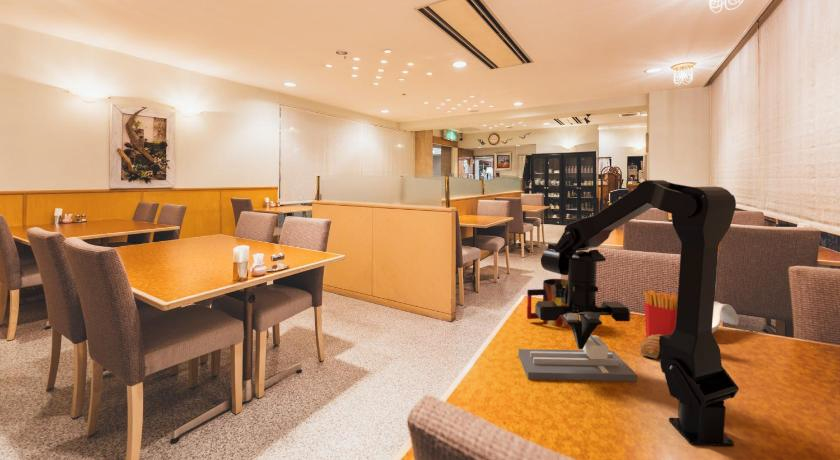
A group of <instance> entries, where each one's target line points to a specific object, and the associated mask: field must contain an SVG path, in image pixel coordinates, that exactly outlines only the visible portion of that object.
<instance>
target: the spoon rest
mask: <svg viewBox="0 0 840 460" xmlns="http://www.w3.org/2000/svg"><path fill="white" fill-rule="evenodd" d="M738 317H739V316H738V314H737V312H736V310H735V309H734V307H733V306H732V305H730V304H728V303H721V302H719V301H715V300H714V308H713V321H712V334H713V333H715V332H716V331H717V330H718V329H719V326H721V322H722V323H726V324H730V325H733V326H738V325H739V318H738Z"/></svg>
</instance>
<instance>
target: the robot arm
mask: <svg viewBox="0 0 840 460" xmlns="http://www.w3.org/2000/svg"><path fill="white" fill-rule="evenodd" d="M652 208H656V209H657V210H660V211H663V212H666V213H669V214H670V215H671V222H672V223H671V225H672V228H673V229H674V231H675V233H676V235H677V237H678V239H679V241H680V254H679V255H680V256H679V269H678V270H679V272H678V284H677V296H678V297H677V311H676V325H675V329H674V331H673V332H672V334H667V335H663V336H660V339H659V347H660V351H659V355H658V357H657V359H656V360H659V361H660V369H661V372H662V374H664V377H665V380H666V384H667V388H668V392H669V395H670V396H671V397H673V398H675V399H677V401H678V409H677V410H678V412H677V416H678V417H668V422H669V423H670V424H671V425H672V426H673V427H674V428H675V430H676V431H678V433H679V434H680V435H681V436H682V437H683V438H684V440H686V441H687V442H688V443H689V444H691V445H697V446H699V445H702V446H730V447H731V446H733V447H734V444H735V442H734V441H733V440H732V439H731V438H730V437H729V436H728V435H727V434H726V433H725V423H726V406H725V401H726V400H728V399H734V398H735V396H736V395H737V393H738V391H739V390H740V388H739V386H738V385H737V383H736V382H735V381H734V379H733V378H732V377H731V376H730V374H729V373H728V372H727V370H726V369H725V368H724V367H723V364H722V356H721V355H722V353H721V347H720V346H719V344H718V343H717V341H716V339H715V336H714V335H713V333H712V321H713V308H714V301H715V295H716V294H715V293H716V281H717V268H718V258H719V257H718V256H719V248H720V243H721V242H722V240H723V238H724V237H725V235H726V233H727V232H728V230H729V229H730V228H731V224H732V221H733V218H734V214H735V210H736V208H737V202H736V197H735V195H734V194H732V193H731V192H730V190H728V189H726V188H724V187H721V186H689V185H684V184H679V183H678V184H677V183H673V182H669V181H667V180H664V179H655V180H654V179H651V180H650V179H647V180H644V181H642V182H639V184H637V185H636V187H634V188H633V189H631V190H630V191H629V192H626V194H624V195H622V196H620V197H619V198H618V199H616V200H615V201H613V202H612V203H610V204H609V205H607V206H606V207H604V208H602V209H601V210H599V211H598V212H597V213H595V214H592V215H590V216H588V217H584V218H579V219H577V220H575V221H572V222H570V223H568V224H567V225H566V226H565V227H564V231H563V233H562V235H561V236H560V238H559V239H558V241H557V243H555V242H551V243H548V244H547V248H546V249H545V250H544V251H543V253H542V255H541V257H540V264H541V267H542V268H543V270H545V271H548V272H551V273H555V274H559V275H563V276H567V280H568V281H567V283H566V288H563V285H562V284H554V285H553V297H554V298H561V302H564V303H565V304H567V306H557V305H556V304H555V303H554V301H543V300H538V301H537V302H536V303H535V307H534V308H535V309H534V310H535V311H534V313H536V314H537V315H538V317H539V318H540V319H539V320H540V321H543V320H548V321H556V320H557V319H558V318H559V317H560V315H561V317H562V318H563V319H564V320H565V321H566V323H567V324H570V328H571V331H572V334H573V337H574V341H575V344H576V346H577V349H578V350H583V348H584V346H585V344H586V342H587V340H588V339H589V337H590V335H592V334H593V332H594V331H595V330H596V328H597V327H598V326H600V325H603V321H601V319H600V318H601V316H611V318H612V319H613V320H614V321H615V322H630V321H631V310H630V309H629V308H628V307H627V306H626V305H624V304H623V303H621V302H620V301H602V303H601V305H597V304H596V302H597V301H596V300H597V293H598V292H599V287H598V285H597V263H600V262H605V261H606V260H607V259H606V257H605V256H604V254H602V253H600V251H599V249H594V248H598V247H600V246H601V245H603V243H604V242H606V241H607V240H608V239H609V238H610V236H611V233H613V231H614V230H616V229H618V228H620V227H622V226H623V225H625V224H627V223H628V222H630V221H632V220H634V219H635V218H637V217H638V216H640V215H642V214H644V213H646V212H647V211H649V210H651V209H652ZM589 249H590V250H589ZM588 250H589V251H588ZM572 310H574V311H572Z"/></svg>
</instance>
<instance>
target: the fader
mask: <svg viewBox="0 0 840 460" xmlns="http://www.w3.org/2000/svg"><path fill="white" fill-rule="evenodd" d="M608 348H609V345H608V344H606V343H605V342H604V341H603V339H602V338H600V337H599V336H598V335H592V334H591V335H590V337H589V339H588V340H587V342H586V344H585V346H584V348H583V349H582V350H583V351H584V352H585V353H586V354H587V355H588V357H589V358H590V359H607V358H608V351H609V349H608Z"/></svg>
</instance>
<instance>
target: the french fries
mask: <svg viewBox="0 0 840 460" xmlns="http://www.w3.org/2000/svg"><path fill="white" fill-rule="evenodd" d="M643 295H644V300H645V302H643V303H644V304H643V305H644V318H645V321H644V322H645V338H648V337H649V336H651V335H658V334H660V335H667V334H672V332H673V331H674V329H675V325H676V311H677V297H678V294H677V295H676V294H674V293H671V294H670V293H667V292H666V293H665V292H661V291H660V293H659V292H656V291H655V290H646V291H643Z"/></svg>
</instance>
